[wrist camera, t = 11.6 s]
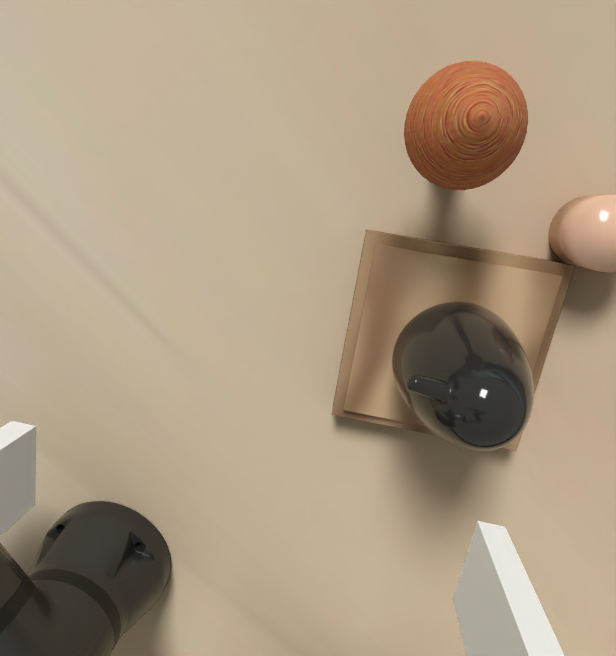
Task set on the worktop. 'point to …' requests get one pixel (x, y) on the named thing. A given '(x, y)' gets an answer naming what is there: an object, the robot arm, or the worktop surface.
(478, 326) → the pump dispenser
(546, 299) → the walnut tray
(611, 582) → the worktop surface
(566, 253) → the pink rounded glossy part
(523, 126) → the mushroom
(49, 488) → the worktop surface
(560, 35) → the worktop surface
